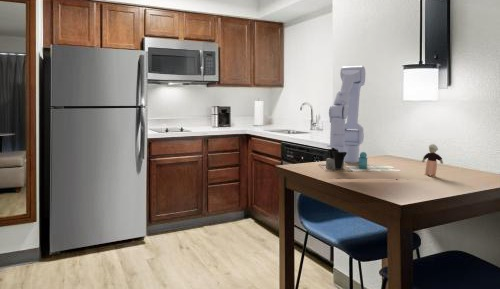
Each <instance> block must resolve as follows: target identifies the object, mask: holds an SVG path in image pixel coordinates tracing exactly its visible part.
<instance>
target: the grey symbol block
mask: <svg viewBox="0 0 500 289" xmlns="http://www.w3.org/2000/svg"><path fill="white" fill-rule="evenodd" d="M325 161H326V162H325V169H331V170H337V169H336V168H335V160H334V158H330V157H328V158H326V159H325ZM344 163H345V162H344V160H343V163H342V167H341V169H344V166H345V164H344ZM341 169H340V170H341Z"/></svg>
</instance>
